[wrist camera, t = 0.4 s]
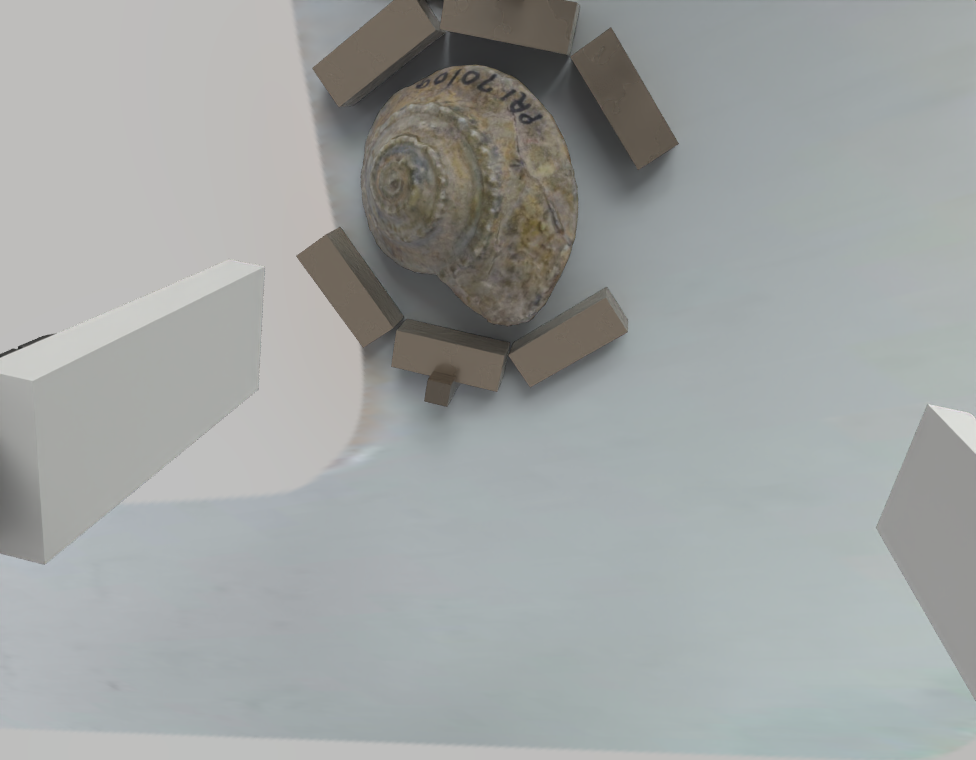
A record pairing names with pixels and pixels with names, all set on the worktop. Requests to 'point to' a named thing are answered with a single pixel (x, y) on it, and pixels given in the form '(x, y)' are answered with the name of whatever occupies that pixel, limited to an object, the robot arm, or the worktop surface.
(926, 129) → the worktop surface
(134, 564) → the worktop surface
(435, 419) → the worktop surface
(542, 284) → the fossilized seashell
